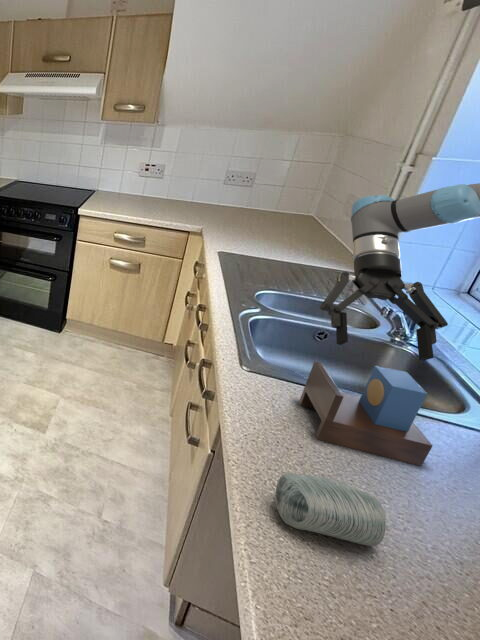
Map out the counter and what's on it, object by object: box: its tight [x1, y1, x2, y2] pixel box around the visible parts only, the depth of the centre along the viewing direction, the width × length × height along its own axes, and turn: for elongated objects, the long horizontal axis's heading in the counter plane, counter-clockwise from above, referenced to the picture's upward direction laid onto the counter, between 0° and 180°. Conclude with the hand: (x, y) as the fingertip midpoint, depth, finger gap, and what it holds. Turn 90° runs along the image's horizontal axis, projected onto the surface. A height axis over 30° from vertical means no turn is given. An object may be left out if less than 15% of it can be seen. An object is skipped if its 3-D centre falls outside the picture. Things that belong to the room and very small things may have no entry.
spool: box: [275, 472, 387, 547], centre depth 64 cm, size 14×10×10 cm
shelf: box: [298, 361, 433, 467], centre depth 83 cm, size 16×12×11 cm
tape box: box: [359, 365, 428, 432], centre depth 81 cm, size 5×7×9 cm
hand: (383, 350), depth 85 cm, fingers open, 13 cm apart
